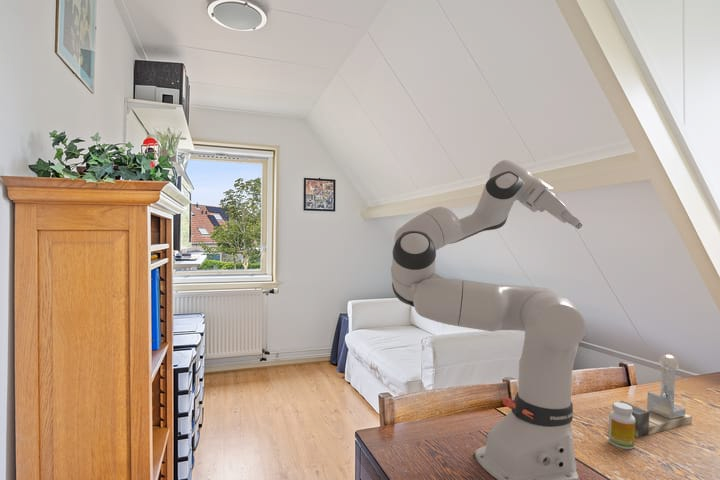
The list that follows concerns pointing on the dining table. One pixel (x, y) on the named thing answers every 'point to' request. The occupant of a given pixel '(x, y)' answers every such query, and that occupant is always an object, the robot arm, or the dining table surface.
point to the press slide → (666, 390)
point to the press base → (654, 421)
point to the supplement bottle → (622, 426)
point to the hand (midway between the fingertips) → (579, 225)
